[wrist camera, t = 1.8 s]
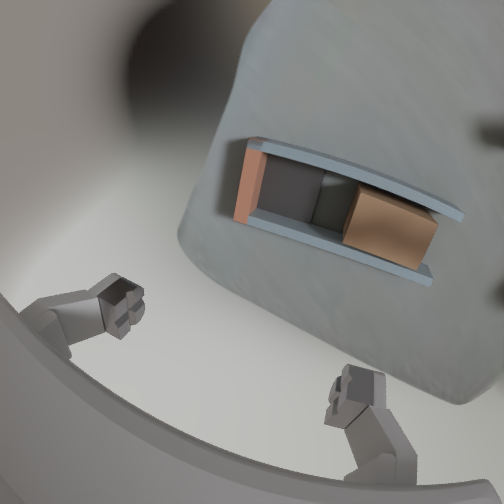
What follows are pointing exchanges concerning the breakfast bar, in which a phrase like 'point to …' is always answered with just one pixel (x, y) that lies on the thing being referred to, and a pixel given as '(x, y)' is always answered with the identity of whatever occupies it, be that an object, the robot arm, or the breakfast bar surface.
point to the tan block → (388, 227)
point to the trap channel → (306, 194)
